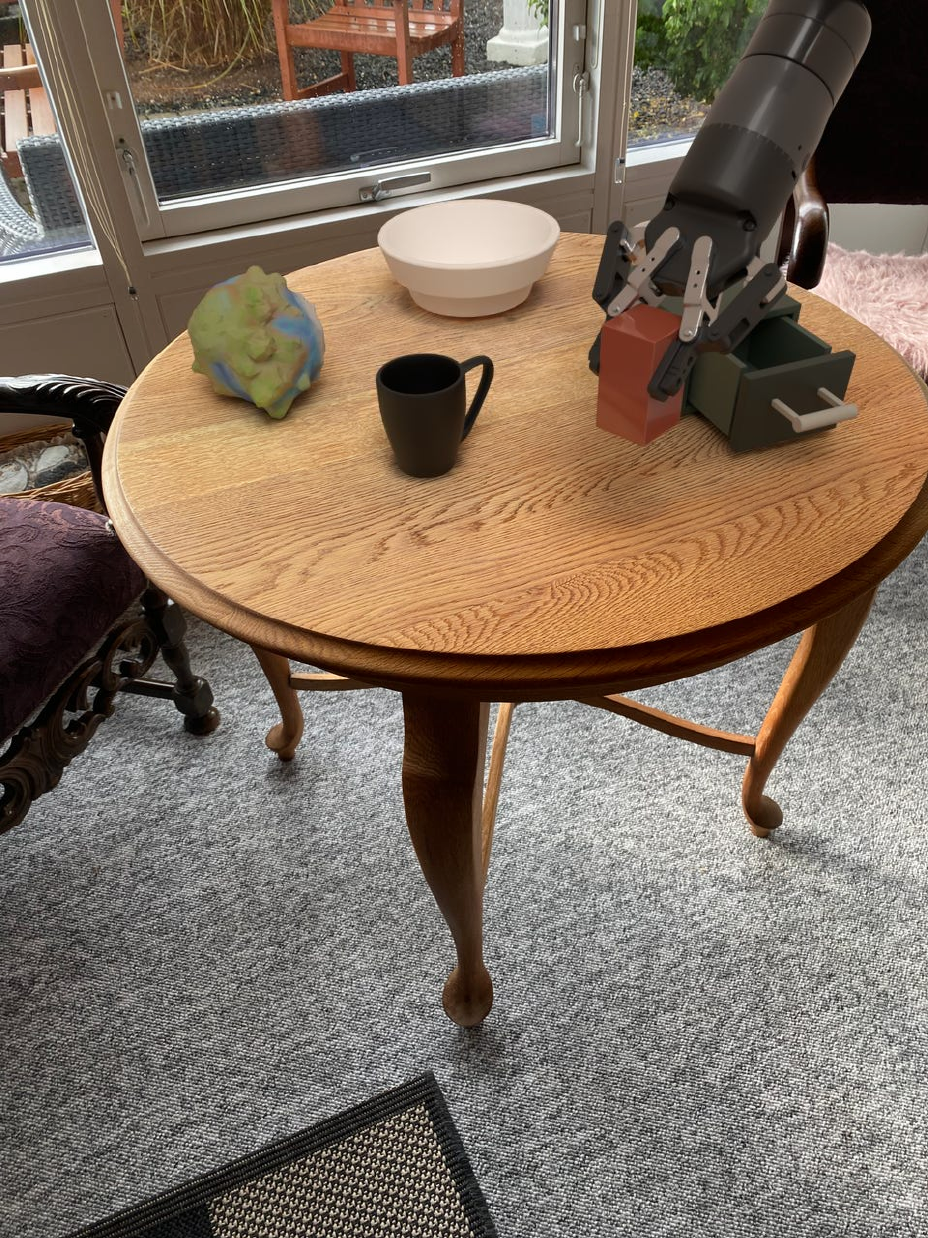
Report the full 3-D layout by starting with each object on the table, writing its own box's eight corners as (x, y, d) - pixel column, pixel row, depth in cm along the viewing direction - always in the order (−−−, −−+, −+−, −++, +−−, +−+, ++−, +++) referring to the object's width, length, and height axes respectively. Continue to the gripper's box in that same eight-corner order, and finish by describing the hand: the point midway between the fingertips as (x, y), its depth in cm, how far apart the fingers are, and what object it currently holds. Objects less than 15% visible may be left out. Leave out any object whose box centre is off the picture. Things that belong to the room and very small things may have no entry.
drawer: (868, 453, 84) (892, 378, 79) (764, 481, 82) (782, 405, 76) (752, 363, 98) (766, 294, 92) (659, 385, 95) (668, 314, 90)
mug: (516, 454, 88) (517, 365, 82) (412, 496, 84) (403, 405, 77) (471, 419, 93) (468, 333, 87) (370, 457, 89) (359, 369, 82)
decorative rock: (309, 234, 91) (164, 248, 91) (308, 346, 83) (149, 362, 83) (334, 337, 103) (206, 349, 103) (335, 443, 95) (197, 457, 96)
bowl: (374, 272, 122) (367, 208, 116) (533, 253, 124) (534, 190, 119) (396, 346, 106) (389, 276, 100) (579, 323, 108) (583, 253, 103)
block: (631, 403, 68) (640, 302, 63) (679, 422, 66) (693, 319, 61) (595, 426, 66) (601, 323, 61) (643, 447, 64) (654, 342, 58)
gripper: (642, 102, 61) (523, 333, 63) (838, 138, 53) (695, 399, 55) (678, 166, 67) (569, 374, 69) (858, 206, 59) (729, 438, 62)
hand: (626, 384), depth 62 cm, fingers closed on block, 4 cm apart
